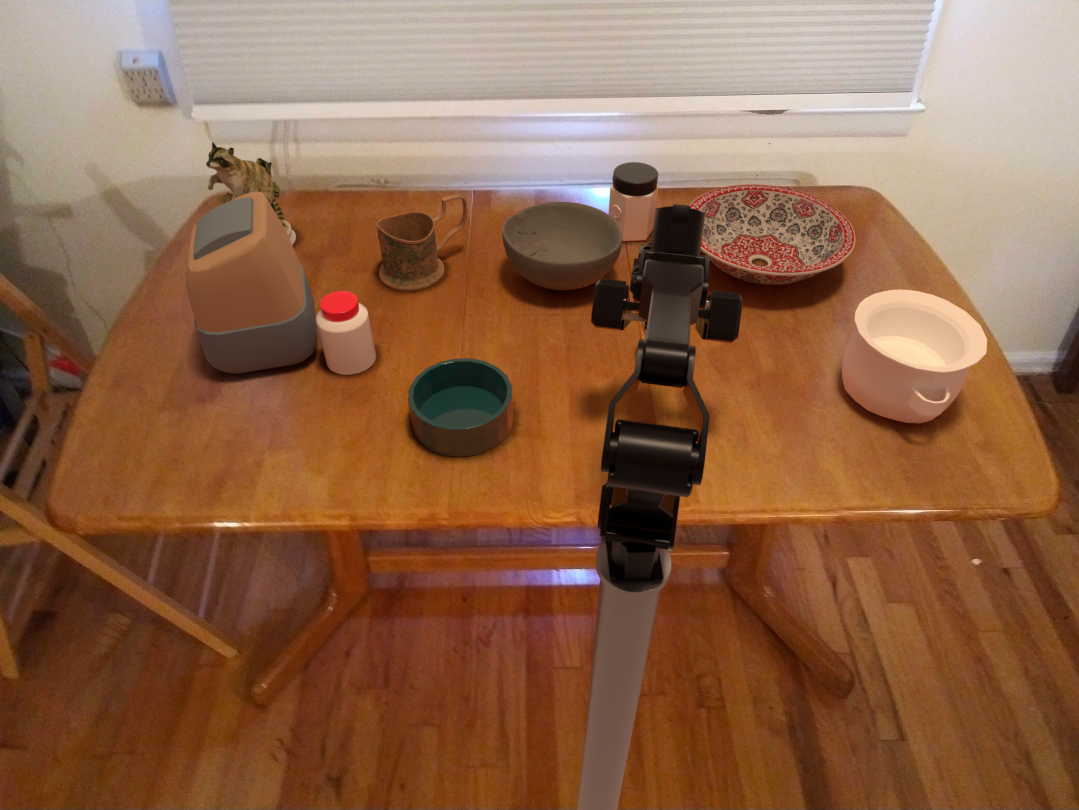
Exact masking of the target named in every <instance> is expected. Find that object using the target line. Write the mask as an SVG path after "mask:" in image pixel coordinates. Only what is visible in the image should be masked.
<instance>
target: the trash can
mask: <svg viewBox="0 0 1079 810" xmlns="http://www.w3.org/2000/svg"><path fill="white" fill-rule="evenodd" d="M187 259H188V260H187V267H186V275H185V285H186V291H187V296H188V300H189V305H190V308H191V311H192V314H193V318H194V319H193V324H194V326H195V330H196V333H197V336H198V339H199V342H200V345H201V349H202V352H203V354H204V357H205V360H206V361H207V362H208V364H210V365H211V366H212V367H213V368H214V369H216V370H218V371H220V372H223V373H226V374H244V373H245V374H246V373H250V372H256V371H264V370H269V369H275V368H282V367H288V366H293V365H296V364H298V363H303V362H305V360H306V359H308V358H309V357H310V356H311V355H313V353H314V351H315V349H316V346H317V340H318V328H317V324H316V308H315V307H316V306H315V299H314V296H313V293H312V290H311V285H310V283H309V280H308V277H307V273H306V271H305V268H304V267H303V264H302V263H301V262H300V260H299V258H298V255H297V252H296V250H295V248H294V245H292V244H291V241H290V239H289V237H288V235H287V232H286V230H285V228H284V226H283V224H282V223H281V221H280V219H279V218H278V216H277V215H276V213H275V211H274V210H273V208H272V206H271V205H270V203H269V201H268V200H267V198H266V197H265V195H264V194H263V193H262V192H250V193H247V194H244V195H241V196H239V197H237V198H235V199H233V200H231V201H229V202H227V203H224V204H223V203H221V204H219V205H218V206H216V207H214V208H212V209H210V210H209V211H208V212H206V213H205V214H203V215H202V217H200V218H199V219H198V220H197V221H196V222H195V224H194V226H193V228H192V230H191V234H190V242H189V251H188V258H187Z"/></svg>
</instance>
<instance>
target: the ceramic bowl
mask: <svg viewBox="0 0 1079 810" xmlns="http://www.w3.org/2000/svg"><path fill="white" fill-rule="evenodd" d="M688 206H690V208H692V209H696V210H699V211H701V212H704V213H705V219H704V226H703V234H702V242H701V249H700V252H701V253H703V254H704V256H710V262H711V263H712V264H713V265H714V266H715V267H717V268H718V269H719V270H721V271H722V272H724V273H726V274H727V275H730V276H732V277H733V278H736V279H739V280H741V281H744V282H748V283H751V284H752V283H753V284H758V285H766V286H767V285H768V286H773V285H774V286H778V285H780V286H781V285H790V284H794V283H798V282H801V281H804V280H807V279H810V278H812V277H814V276H816V275H818V274H820V273H822V272H826V271H828V270H830V269H833V268H835V267H837V266H839V265H840V264H842V263H843V262H844V261H846V260H847V259H848V258H849V256H850V255H851V254H852V252H853V250H854V248H855V245H856V232H855V230H854V227H853V225H852V224H851V222H850V221H849V219H848V218H847V217H846V216H845V215H844V213H842V212H841V211H840V210H838V208H836V207H835V206H833V205H832V204H830V203H829V202H826V201H825V200H823V199H820V198H818V197H817V196H814V195H812V194H809V193H806V192H803V191H801V190H797V189H793V188H788V187H783V186H778V185H771V184H753V183H752V184H750V183H749V184H746V183H745V184H734V185H727V186H723V187H718V188H716V189H715V188H714V189H712V190H710V191H707V192H705V193H703V194H701V195H700V196H698V197H696V198H695V199H694V200H693V201H692V202H691V203H690V204H689V205H688ZM755 260H762V261H764V262H766V263H767V265H765V266H764V265H759V264H754V263H753V262H752V261H755Z"/></svg>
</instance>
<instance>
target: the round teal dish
mask: <svg viewBox="0 0 1079 810" xmlns="http://www.w3.org/2000/svg"><path fill="white" fill-rule="evenodd" d="M407 402H408V403H407V404H408V407H409V409H408V410H409V415H410V421H411V425H412V429H413V432H414V435H415V437H416V438H417V440H418V441H419V442H420V444H421V445H423V446H424V447H425V448H426V449H428V450H430V451H432V452H434V453H436V454H439V455H443V456H447V457H456V458H457V457H458V458H462V457H463V458H464V457H473V456H477V455H480V454H483V453H487V452H488V451H490V450H492V449H494V448H495V447H498V446H499V444H501V443H502V442H503V441H504V440H506V438H507V436H508V435H509V434H510V431H511V429H512V427H513V421H514V407H513V385H512V383H511V381H510V379H509V377H508V375H507V374H506V373H505V372H504V371H503V370H501V369H500V368H499V367H498V366H496V365H495V364H492V363H490V362H488V361H485V360H481V359H476V358H470V357H468V358H467V357H465V358H460V357H459V358H450V359H446V360H442V361H439V362H437V363H435V364H433V365H430V366H428V367H426V368H425V369H423V370H422V371H421V372H420V373H419V374H417V375H416V376H415V377H414V379H413V381H412V383H411V384H410V386H409V388H408V395H407Z"/></svg>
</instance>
